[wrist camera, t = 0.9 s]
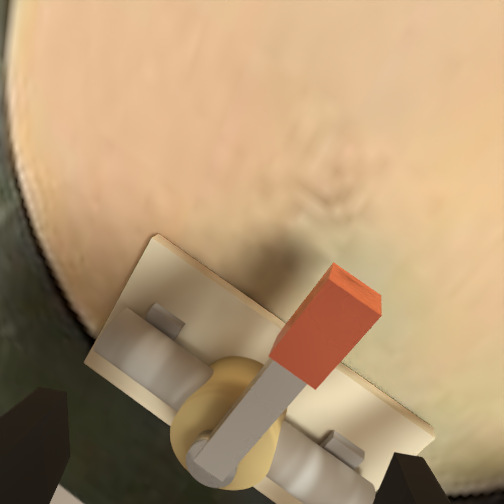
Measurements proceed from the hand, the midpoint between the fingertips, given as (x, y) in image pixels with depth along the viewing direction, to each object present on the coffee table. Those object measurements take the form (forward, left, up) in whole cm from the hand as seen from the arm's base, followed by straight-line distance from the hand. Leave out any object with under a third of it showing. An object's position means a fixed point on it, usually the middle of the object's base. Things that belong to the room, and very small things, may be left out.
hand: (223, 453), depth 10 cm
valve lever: (-2, +4, -9) cm, 10 cm away
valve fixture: (-2, +9, -14) cm, 16 cm away
